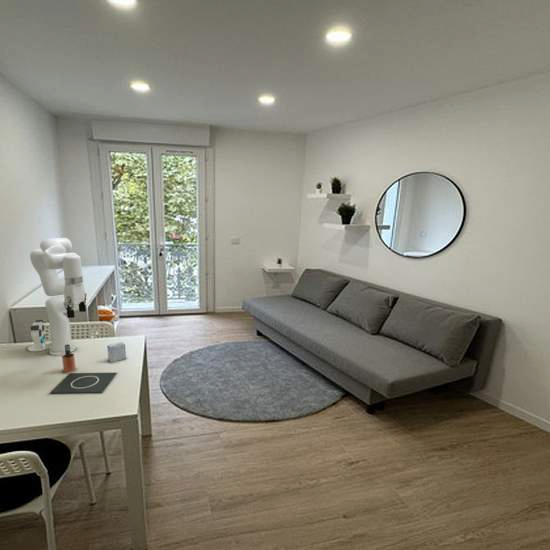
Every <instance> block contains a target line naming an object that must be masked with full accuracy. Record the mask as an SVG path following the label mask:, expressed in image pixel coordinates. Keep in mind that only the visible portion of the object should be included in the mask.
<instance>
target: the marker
mask: <svg viewBox="0 0 550 550" xmlns="http://www.w3.org/2000/svg"><path fill="white" fill-rule="evenodd" d="M71 354H72V352H71V353H70V345H69V344H68V345H65V354H64V355H66V358H68V357H71Z"/></svg>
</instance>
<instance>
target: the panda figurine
mask: <svg viewBox="0 0 550 550" xmlns="http://www.w3.org/2000/svg"><path fill="white" fill-rule="evenodd" d="M30 336H31V339H32V341H33V344H32V345H30V346H28V347H27V351H29V352H40V351H45V350H47V349H49V348H45V344H51V343H50V342H45V338H46V334H45V325H44V319H35V320H34V322H33V323H32V324H31V325H30Z"/></svg>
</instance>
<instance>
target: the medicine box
mask: <svg viewBox="0 0 550 550" xmlns="http://www.w3.org/2000/svg"><path fill="white" fill-rule="evenodd" d="M106 347H107V359H108V361H109V362H110V363H114V362H119V361H122V360H125V359H127V351H126V343H125V342H123V341H120V342H115V343H111V344H108V345H107V346H106Z"/></svg>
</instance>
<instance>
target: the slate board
mask: <svg viewBox="0 0 550 550" xmlns="http://www.w3.org/2000/svg"><path fill="white" fill-rule="evenodd" d="M116 375H117V372H69V374H67V376H65V377H64V378H63V379H62V380H61V381H60V382H59V383H58V384H57V386H55V388H53V389H52V390H51V391H50V393H49V394H50V395H51V394H52V395H57V394H58V395H59V394H63V395H64V394H65V395H67V394H102V393H103V392H104V391H105V389H106V388H107V387H108V385H110V383H111V382H112V380H113V379H114V377H115V376H116Z"/></svg>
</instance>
